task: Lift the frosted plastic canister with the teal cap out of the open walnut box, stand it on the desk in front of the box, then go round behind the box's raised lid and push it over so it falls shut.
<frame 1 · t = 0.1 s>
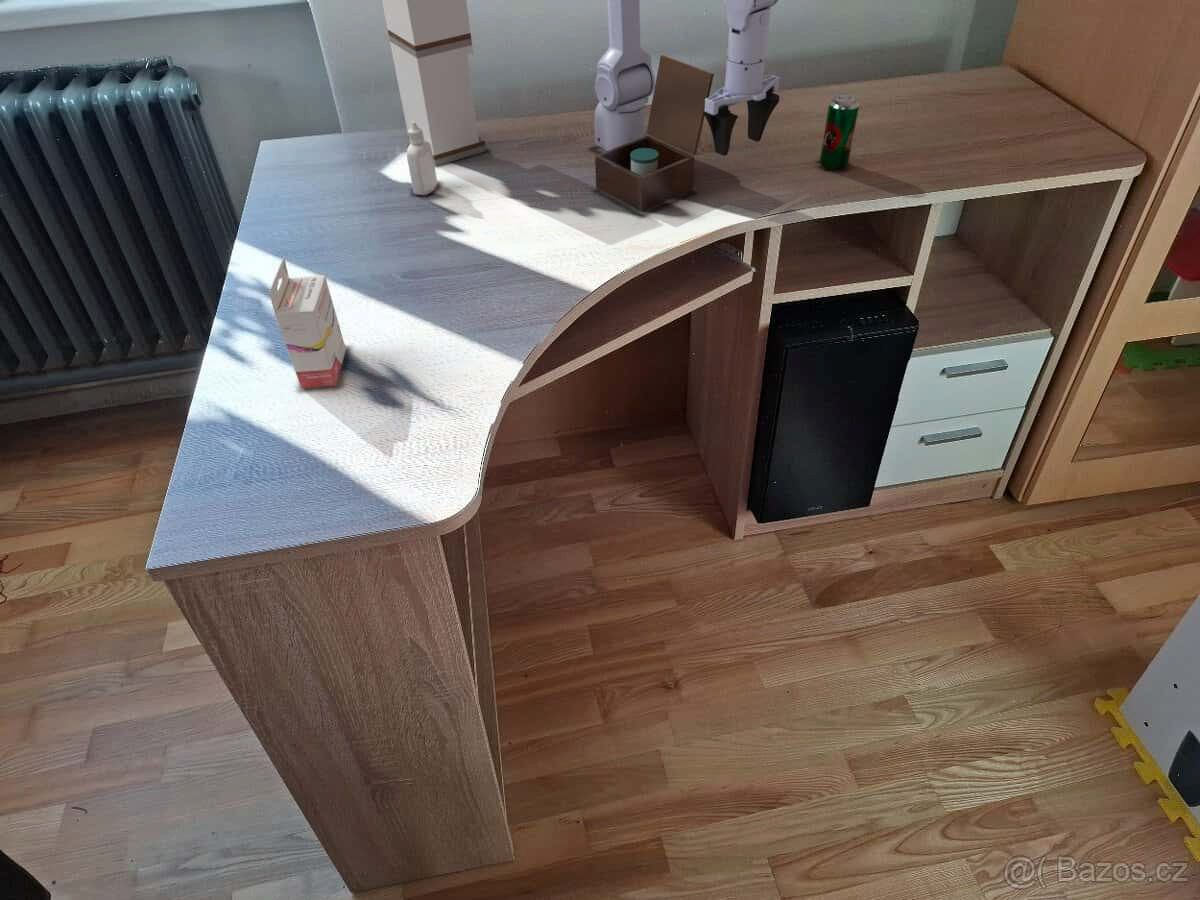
hand: (737, 146, 131), 10 cm above the table, tool pointing down, fingers open, 7 cm apart
ink cartridge box: (325, 369, 109), on the table
box lid: (678, 105, 137), point 13 cm above the table, hinge at 104.0°
container: (644, 188, 142), point 1 cm above the table, touching box
brown banded pillar: (447, 149, 158), on the table
eye dropper bottle: (426, 190, 146), on the table
box: (644, 192, 142), on the table
soda can: (833, 166, 148), on the table
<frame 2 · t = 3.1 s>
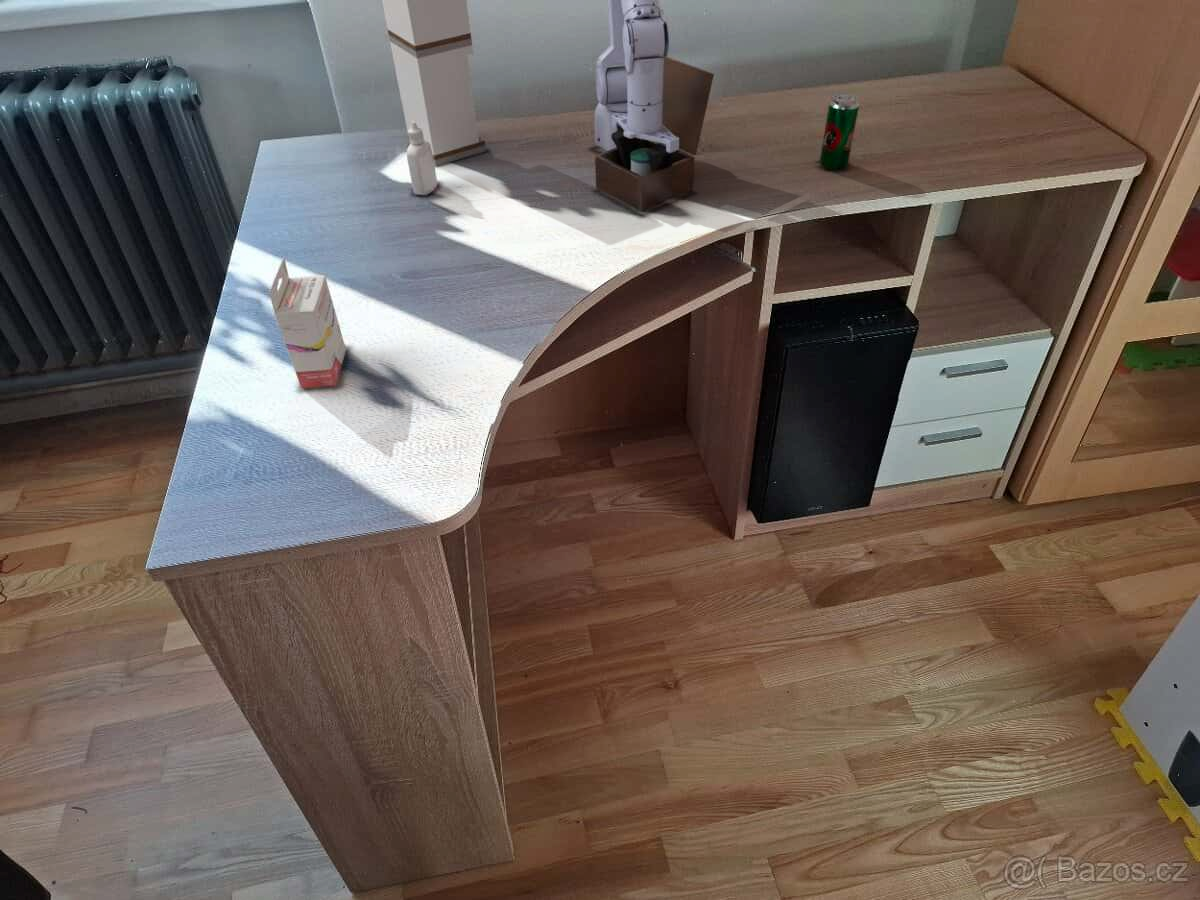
hand: (644, 179, 141), 2 cm above the table, tool pointing down
nothing on the table moved.
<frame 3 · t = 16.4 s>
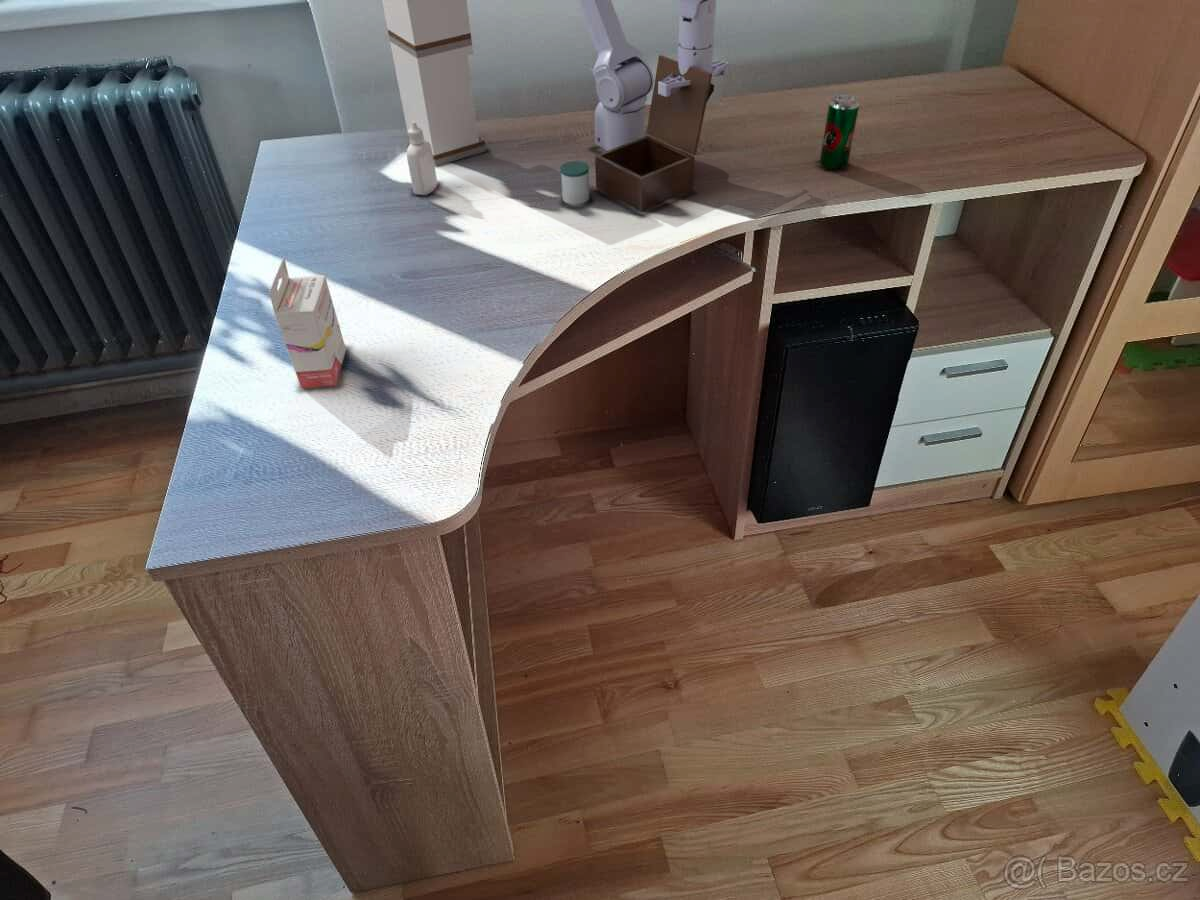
hand: (691, 127, 141), 8 cm above the table, tool pointing down, fingers closed
box lid: (677, 105, 136), point 13 cm above the table, hinge at 102.2°, touching gripper
container: (576, 201, 141), on the table
everything else where it was.
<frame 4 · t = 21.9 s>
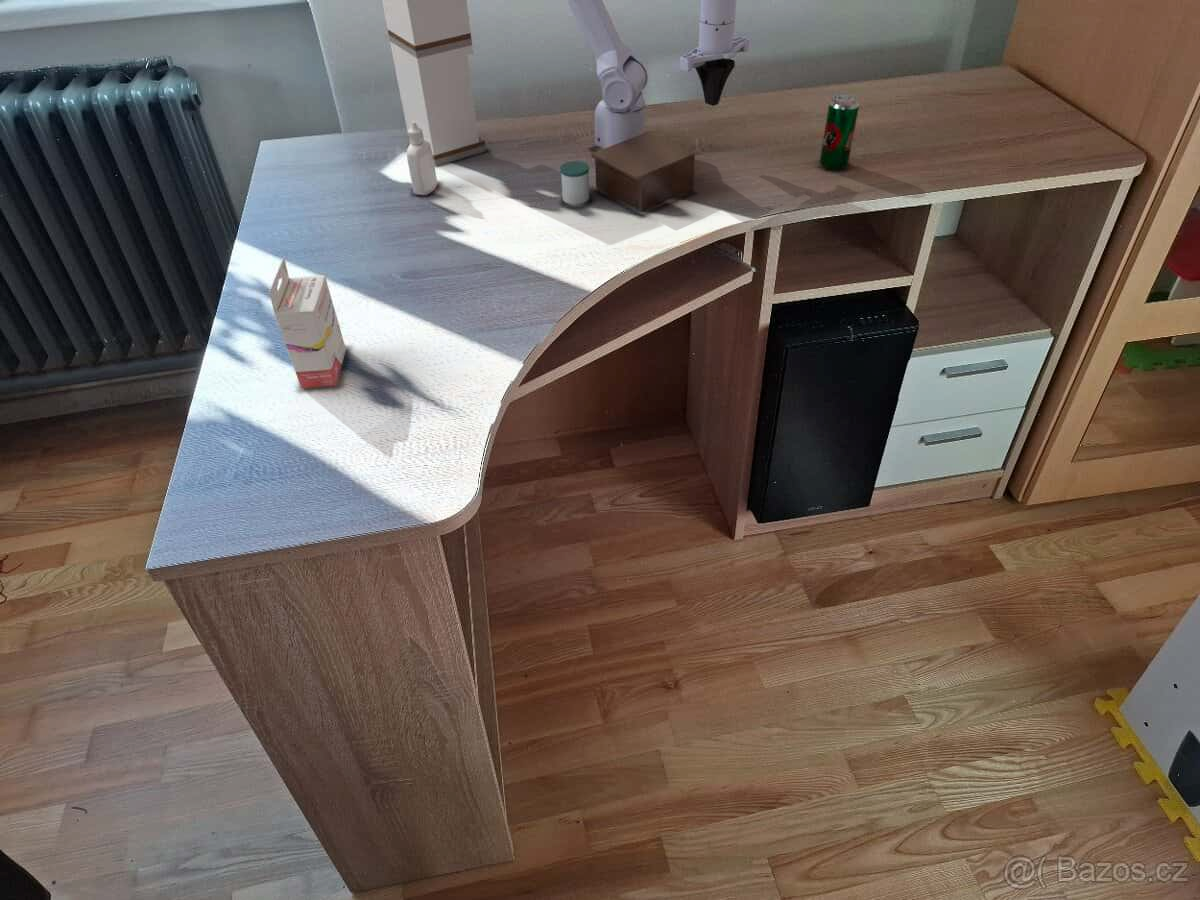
hand: (711, 103, 144), 10 cm above the table, tool pointing down, fingers closed
box lid: (642, 155, 137), point 7 cm above the table, hinge at -0.2°
everything else where it was.
at the end: container 0.1 cm from the target spot, on the table; container tilted 0°; box lid at +0° (first picture: +104°) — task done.
